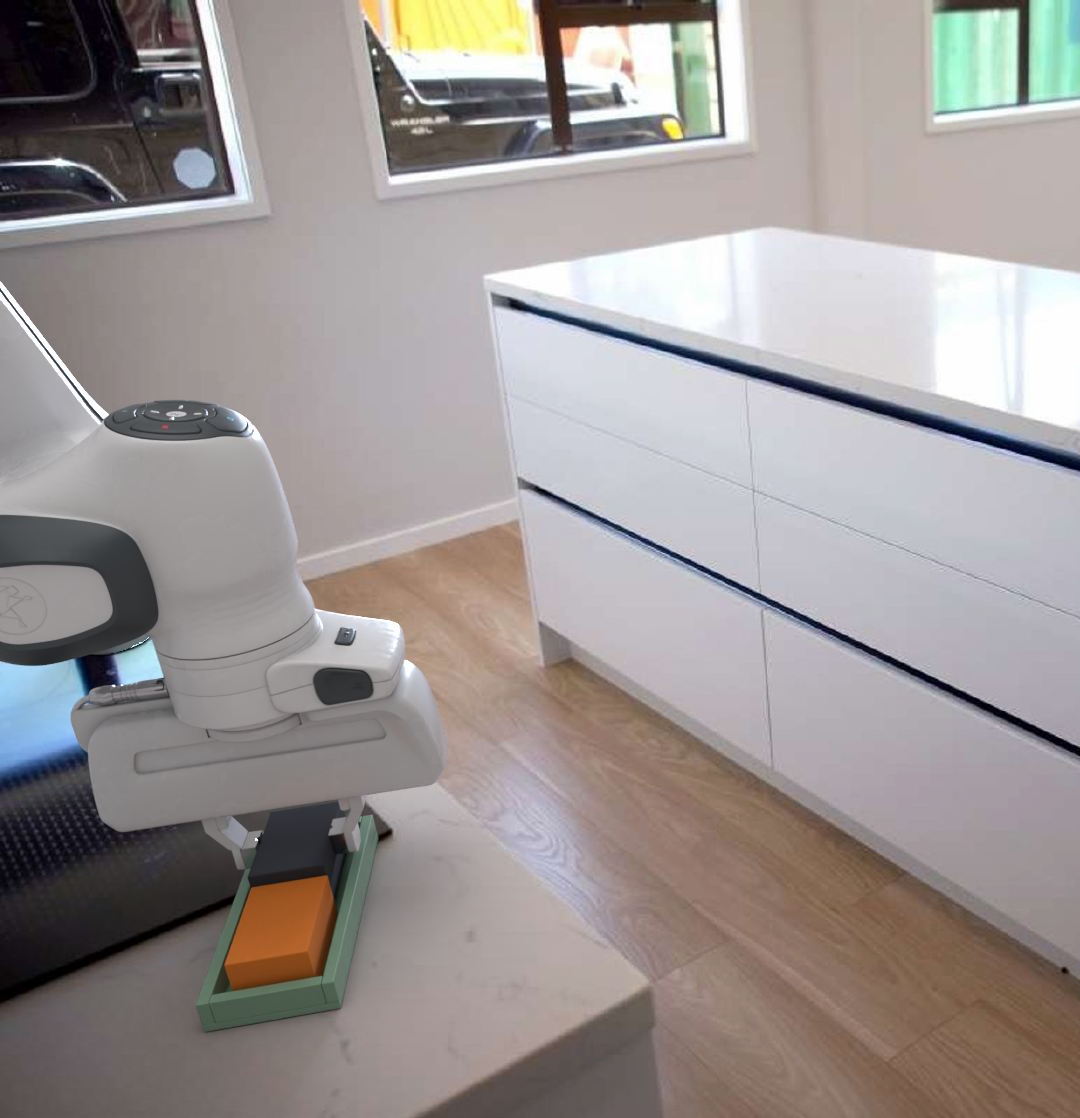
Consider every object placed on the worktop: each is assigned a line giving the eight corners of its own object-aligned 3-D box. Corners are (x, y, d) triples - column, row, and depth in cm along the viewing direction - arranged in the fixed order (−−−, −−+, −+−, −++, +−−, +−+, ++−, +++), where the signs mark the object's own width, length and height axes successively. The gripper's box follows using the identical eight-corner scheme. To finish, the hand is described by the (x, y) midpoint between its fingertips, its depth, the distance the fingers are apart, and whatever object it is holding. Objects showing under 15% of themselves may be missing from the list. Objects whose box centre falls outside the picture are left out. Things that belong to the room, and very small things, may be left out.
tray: (204, 1032, 72) (195, 1005, 71) (265, 855, 86) (258, 831, 86) (341, 1008, 73) (333, 981, 72) (378, 838, 87) (372, 814, 87)
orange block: (236, 1005, 73) (223, 965, 71) (262, 925, 79) (250, 886, 78) (319, 991, 73) (307, 951, 72) (338, 913, 80) (327, 874, 78)
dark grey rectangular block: (258, 916, 79) (246, 877, 78) (281, 848, 85) (270, 811, 84) (334, 903, 79) (323, 864, 78) (351, 837, 86) (341, 800, 84)
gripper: (41, 720, 71) (113, 915, 77) (416, 667, 75) (458, 859, 80) (79, 666, 77) (144, 852, 83) (426, 620, 80) (465, 802, 86)
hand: (301, 855), depth 82 cm, fingers closed on dark grey rectangular block, 4 cm apart
